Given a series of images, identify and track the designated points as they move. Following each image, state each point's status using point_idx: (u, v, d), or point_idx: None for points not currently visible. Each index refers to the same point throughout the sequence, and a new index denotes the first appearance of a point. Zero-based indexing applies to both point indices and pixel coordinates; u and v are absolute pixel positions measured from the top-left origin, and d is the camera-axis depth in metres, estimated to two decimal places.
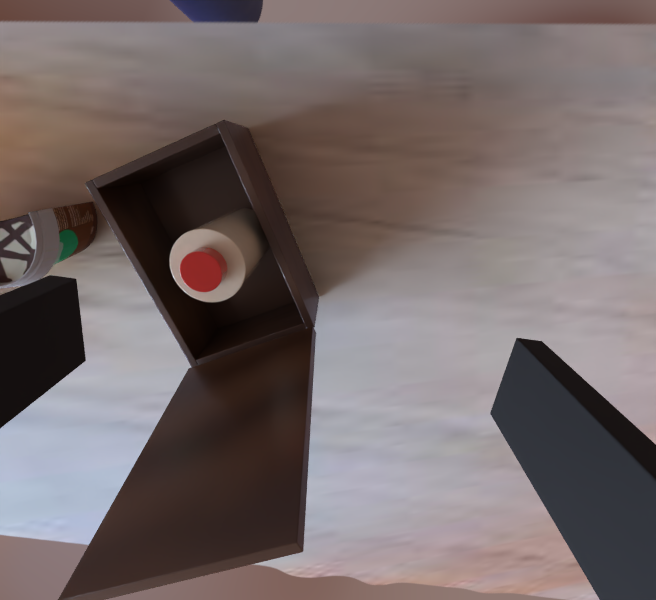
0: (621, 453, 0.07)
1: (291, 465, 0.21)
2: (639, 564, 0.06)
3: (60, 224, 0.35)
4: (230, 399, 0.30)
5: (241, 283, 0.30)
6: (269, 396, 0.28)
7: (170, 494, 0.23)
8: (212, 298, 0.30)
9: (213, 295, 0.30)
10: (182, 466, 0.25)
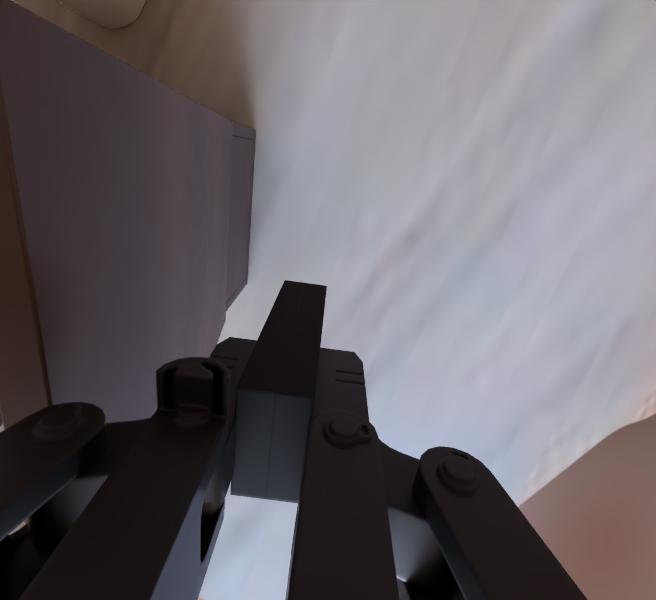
0: None
1: None
2: None
3: None
4: None
5: None
6: None
7: None
8: None
9: None
10: None
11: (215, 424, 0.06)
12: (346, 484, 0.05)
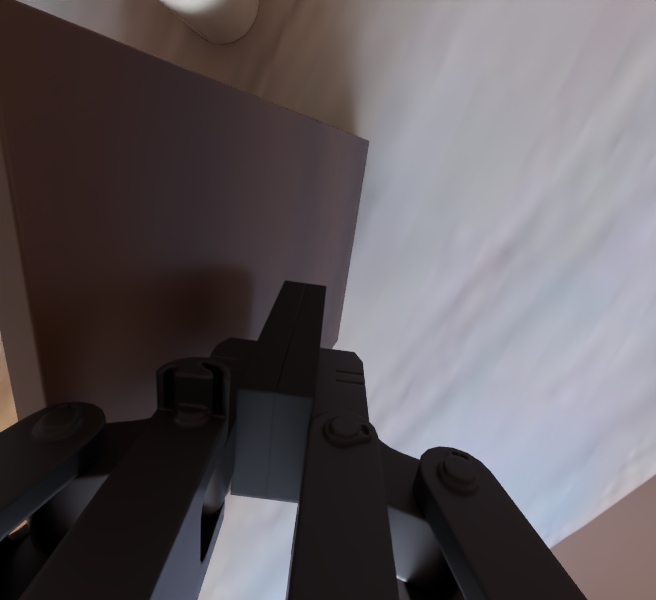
0: None
1: None
2: None
3: None
4: None
5: None
6: None
7: None
8: None
9: None
10: None
11: (215, 424, 0.06)
12: (346, 484, 0.05)
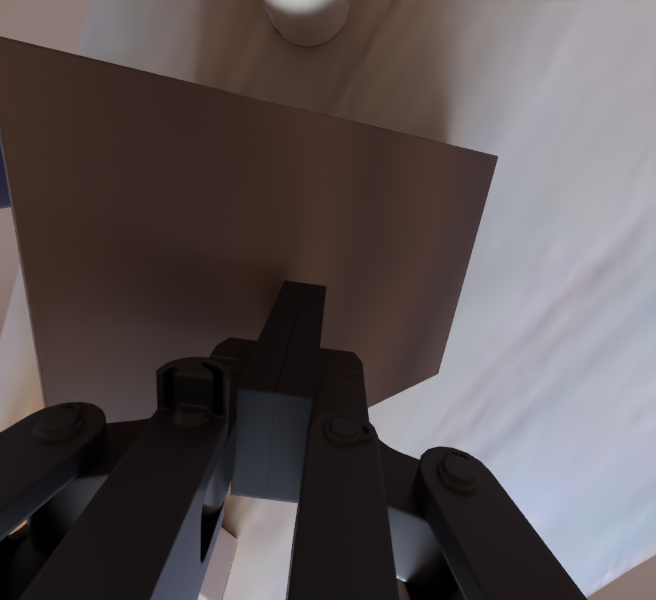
0: None
1: None
2: None
3: None
4: None
5: None
6: None
7: None
8: None
9: None
10: None
11: (215, 424, 0.06)
12: (346, 484, 0.05)
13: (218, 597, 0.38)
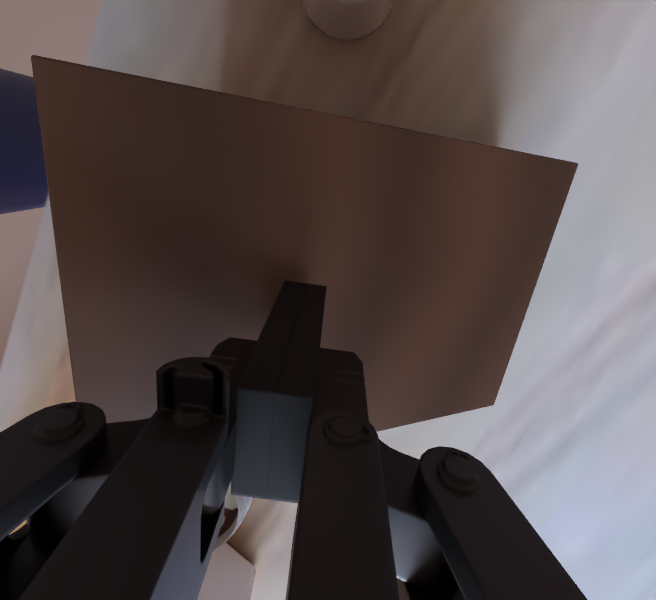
0: None
1: None
2: None
3: None
4: None
5: None
6: None
7: None
8: None
9: None
10: None
11: (215, 424, 0.06)
12: (346, 484, 0.05)
13: None
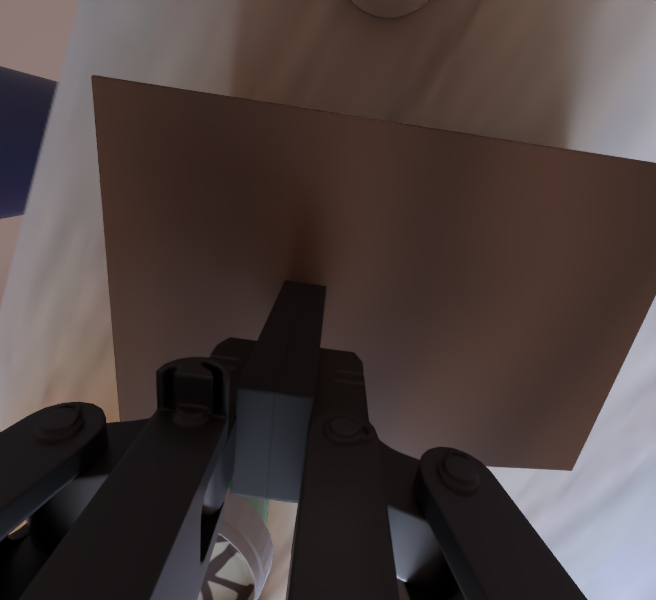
0: None
1: None
2: None
3: None
4: None
5: None
6: None
7: None
8: None
9: None
10: None
11: (215, 424, 0.06)
12: (346, 484, 0.05)
13: None
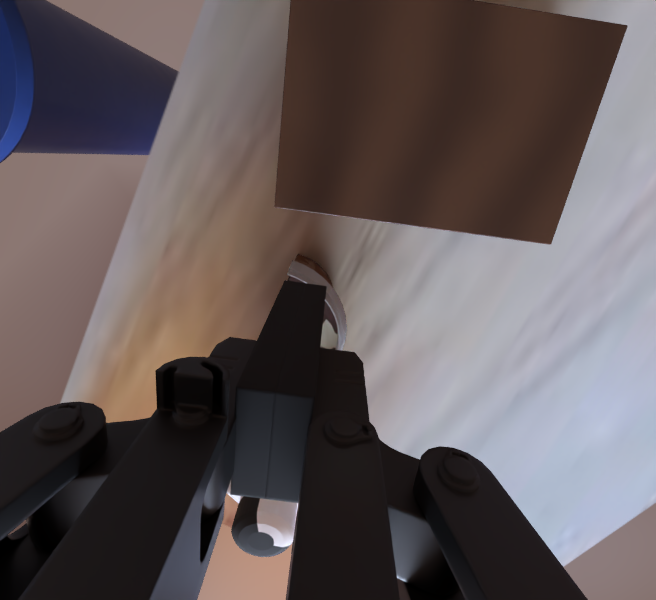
0: None
1: None
2: None
3: None
4: None
5: None
6: None
7: None
8: None
9: None
10: None
11: (215, 424, 0.06)
12: (346, 484, 0.05)
13: None
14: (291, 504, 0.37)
